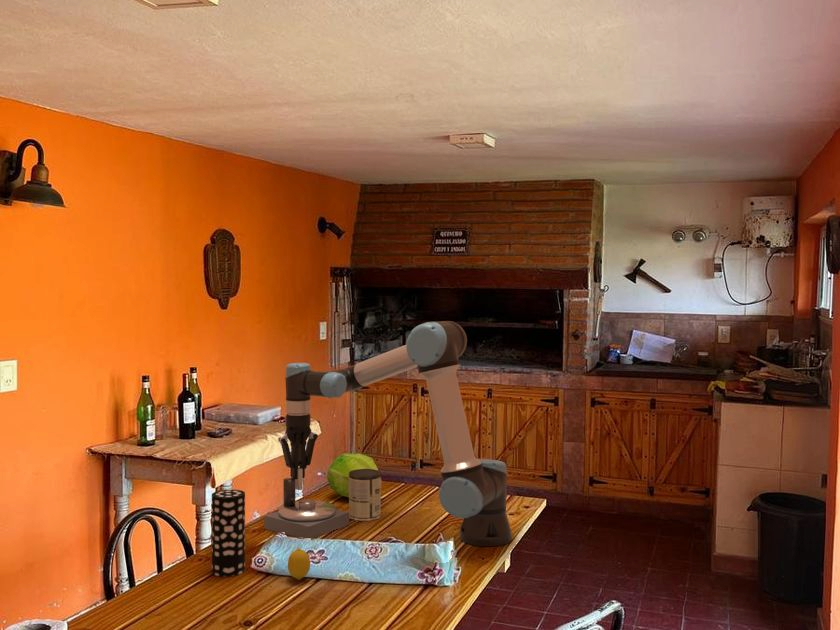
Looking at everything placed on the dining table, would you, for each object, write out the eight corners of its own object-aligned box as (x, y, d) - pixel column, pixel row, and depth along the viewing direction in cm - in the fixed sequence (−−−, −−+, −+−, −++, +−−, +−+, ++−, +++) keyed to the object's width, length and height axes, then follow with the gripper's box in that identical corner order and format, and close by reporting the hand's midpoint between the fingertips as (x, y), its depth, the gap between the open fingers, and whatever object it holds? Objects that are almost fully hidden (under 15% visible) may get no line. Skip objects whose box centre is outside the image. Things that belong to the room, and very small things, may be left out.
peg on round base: (345, 509, 248) (346, 478, 247) (315, 524, 232) (315, 491, 232) (299, 502, 255) (299, 472, 254) (267, 516, 240) (267, 484, 239)
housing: (349, 525, 246) (349, 512, 246) (308, 540, 231) (308, 526, 231) (305, 514, 256) (305, 502, 256) (264, 528, 242) (264, 515, 241)
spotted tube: (251, 568, 208) (251, 492, 207) (228, 579, 201) (228, 499, 200) (228, 562, 212) (228, 487, 211) (204, 572, 205) (204, 495, 204)
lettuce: (358, 514, 265) (358, 470, 262) (318, 496, 278) (317, 455, 275) (393, 498, 278) (393, 457, 275) (353, 482, 291) (353, 442, 288)
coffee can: (351, 511, 261) (351, 468, 260) (383, 512, 260) (383, 469, 259) (345, 520, 251) (345, 475, 250) (378, 521, 250) (378, 476, 249)
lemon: (285, 577, 202) (285, 546, 202) (307, 575, 204) (307, 543, 204) (290, 585, 197) (290, 553, 197) (312, 582, 199) (312, 550, 199)
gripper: (310, 409, 255) (310, 483, 256) (273, 413, 247) (274, 489, 248) (322, 412, 249) (322, 488, 250) (285, 417, 241) (285, 495, 242)
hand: (298, 488), depth 249 cm, fingers closed
